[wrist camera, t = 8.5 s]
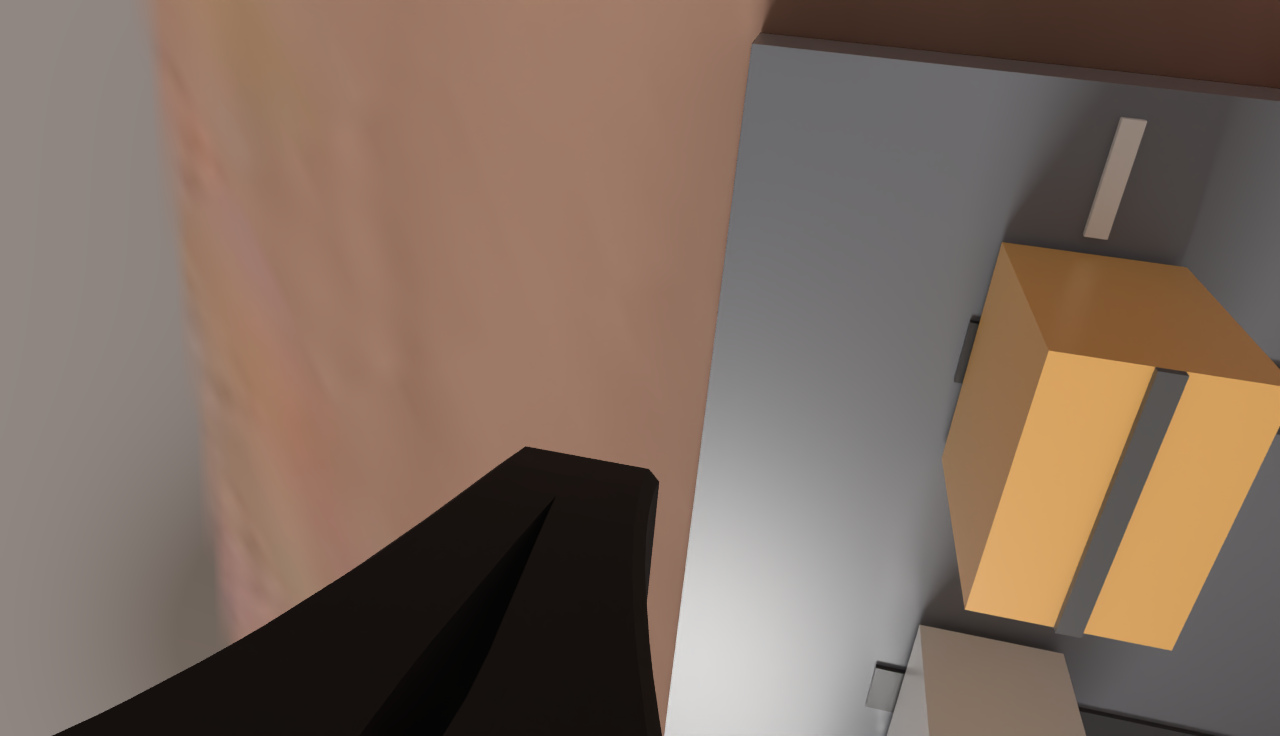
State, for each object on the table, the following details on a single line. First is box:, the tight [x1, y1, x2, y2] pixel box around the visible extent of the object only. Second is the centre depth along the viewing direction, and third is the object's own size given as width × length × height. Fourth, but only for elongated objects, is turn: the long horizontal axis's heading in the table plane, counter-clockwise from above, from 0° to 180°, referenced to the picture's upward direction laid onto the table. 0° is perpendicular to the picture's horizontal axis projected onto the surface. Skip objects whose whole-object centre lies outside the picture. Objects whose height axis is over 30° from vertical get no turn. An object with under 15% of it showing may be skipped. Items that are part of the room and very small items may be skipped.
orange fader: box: [942, 242, 1280, 651], centre depth 12 cm, size 4×2×4 cm, turn 176°
